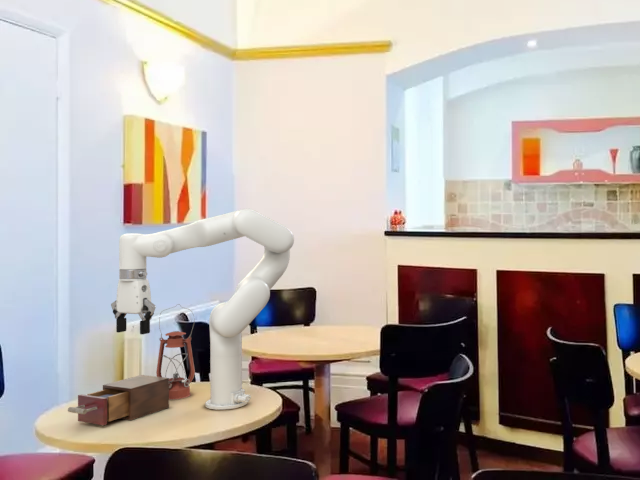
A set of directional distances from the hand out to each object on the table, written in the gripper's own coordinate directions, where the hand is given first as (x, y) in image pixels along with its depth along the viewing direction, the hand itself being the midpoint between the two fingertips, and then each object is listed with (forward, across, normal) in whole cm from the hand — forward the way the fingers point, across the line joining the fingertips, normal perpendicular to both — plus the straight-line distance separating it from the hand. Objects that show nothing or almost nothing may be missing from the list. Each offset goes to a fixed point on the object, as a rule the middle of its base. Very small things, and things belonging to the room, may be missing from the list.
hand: (133, 332), depth 204 cm
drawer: (+23, +2, +9) cm, 25 cm away
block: (+22, +2, +8) cm, 24 cm away
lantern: (+24, +5, -22) cm, 33 cm away
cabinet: (+24, +2, -3) cm, 25 cm away
